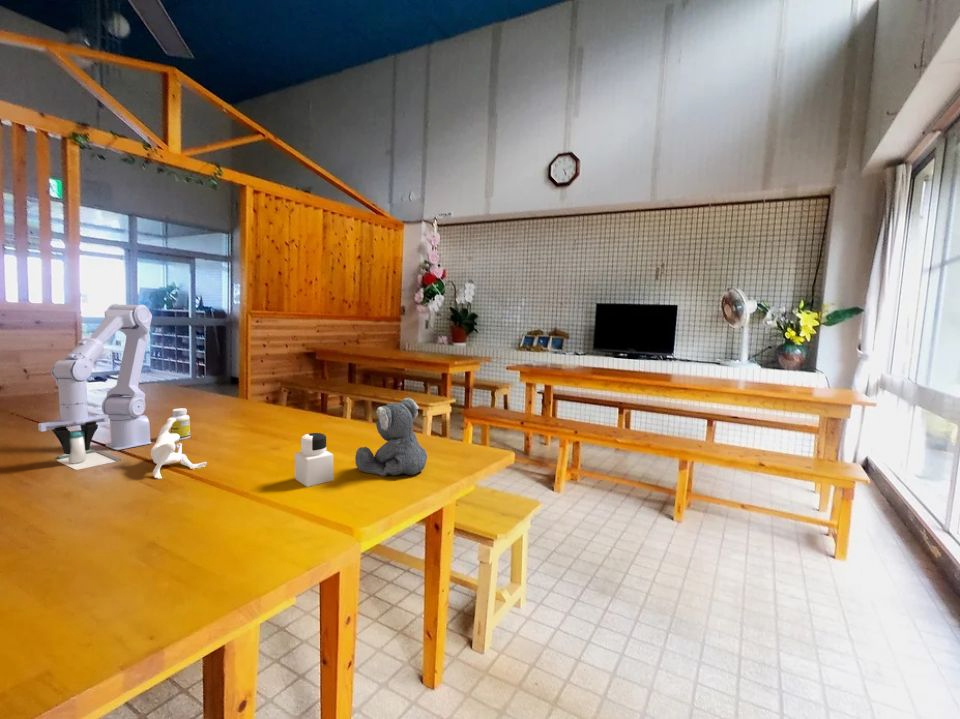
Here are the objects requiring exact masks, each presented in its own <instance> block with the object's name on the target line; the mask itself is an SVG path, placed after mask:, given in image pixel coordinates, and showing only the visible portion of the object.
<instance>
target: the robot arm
mask: <svg viewBox="0 0 960 719" xmlns="http://www.w3.org/2000/svg"><path fill="white" fill-rule="evenodd" d="M152 319H153V314H152V313H151V311H150V309H149V307H148V306H146V305H145V304H118V303H113V304H111V305H110V306H108V307H107V309H106V310H105V311H104V319H103V320H102V321H101V323H99V325H98V327H96V329H95V331H94V332H93V334H91V336H90V337H89V338H88V337H87V338H83V339H80V340H79V341H78V342H77V345H75V347H74V348H73V349H72V350H71V351H70V352H69V353H68V354H67V355H66V357H65V358H64V359H62V358H61V359H59V360H58V361H56V362H55V363H54V364H53V365H52V369H51V370H50V375H51V377H52V378H53V379H54V380H55V385H56V386H57V388H58V389H57V390H58V398H59V401H58V402H59V403H58V404H59V415H60V419H56V420H51V421H45V422H39V423H38V424H37V426H38V428H37V429H38V431H39V432H41V433H42V432H46V431H50V430H51V432H52V433H53V434H54V436H56V438H57V440H58V441H59V443H60V445H61V447H62V450H63V454H70V443H69V439H70V431H71V430H69V428H71V427H77V426H80V430H84V431H85V451H88V450H90V449H91V448H90V446H91V443H92V440H93V437H94V436H95V433H96V431H97V430H98V428H99V424H97V423H107V422H109V427H110V428H109V430H110V431H109V432H110V443H107V444H105V447H107V448H108V449H109V448H110V449H112V450H114V451H120V450H125V449H129V448H135V447H140V446H145V445H146V446H147V445H150V444H152V441H151V429H150V428H151V426H150V420H149V418H148V417H147V415H145V414H144V412H145V410H146V401H145V399H146V393H145V392H143V391H142V390H141V388H139V385H140V384H139V383H140V378H141V373H142V369H143V363H144V360H145V354H146V349H147V344H148V341H149V340H148V339H149V332H150V329H151V323H152ZM119 331H120V332H121V333H123V334H124V335H125V336H126V338H125V344H124V348H123V353H122V357H121V362H120V367H119V370H118V377H117V380H116V385H115V386H114V387H112V388H110V389H109V390H107V392H106V395H105V398H104V400H103V401H102V404H101V411H102V413H103V414H93V415H89V410H88V409H89V406H88V394H87V393H88V392H87V389H88V388H87V379H88V378H90V377H91V375H92V372H93V368H94V364H95V362H96V361H97V360H98V359H99V358H100V356H101V355H102V354H103V353H104V351H105V346H104V345H105V344H106V343H107V342H108V341H109V340H110V339H111V338H112V337H113V336H114V335H115V334H116V333H117V332H119ZM142 414H143V415H142Z"/></svg>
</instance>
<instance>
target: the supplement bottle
mask: <svg viewBox="0 0 960 719" xmlns="http://www.w3.org/2000/svg"><path fill="white" fill-rule="evenodd" d="M171 413H172V416H171V417H170V418H175V419H176V421H175V422H174V423H173V424H172V426H171V428H170V434H172V433H175V434H179V436H180V439H179V440H178V441H182V440H183V441H184V440H187V439H190V438H191V421H190V420H191V418H190V415H188V414H187V413H188V410H187V408H185V407H184V408H182V407H180V408H179V407H178V408H173V409H172V412H171Z"/></svg>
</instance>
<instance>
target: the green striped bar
mask: <svg viewBox="0 0 960 719" xmlns="http://www.w3.org/2000/svg"><path fill="white" fill-rule="evenodd" d="M94 452H96V450H95V449H92V448H89V450H88V451H86V454H89V453H94ZM56 458H57V459H63V458H68V454H65V453H63V454H59V455H57V456H56Z"/></svg>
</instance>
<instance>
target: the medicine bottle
mask: <svg viewBox="0 0 960 719" xmlns="http://www.w3.org/2000/svg"><path fill="white" fill-rule="evenodd" d="M300 444H301V445H300V447H301V448H300V449H301V450H300V451H298V452H295V454H294V476H295V477H294V479H295V481H298V482H299V483H301V484H302V485H304V486H305V487H307V488H309V487H312V486H317V485H321V484H324V483H328V482H329V483H330V482H333V480H334V454H333V453H331V452H330V451H328V450H327V435H325V434H324V433H321V432H310V433H305V434H304V435H303V436H301V437H300Z"/></svg>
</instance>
